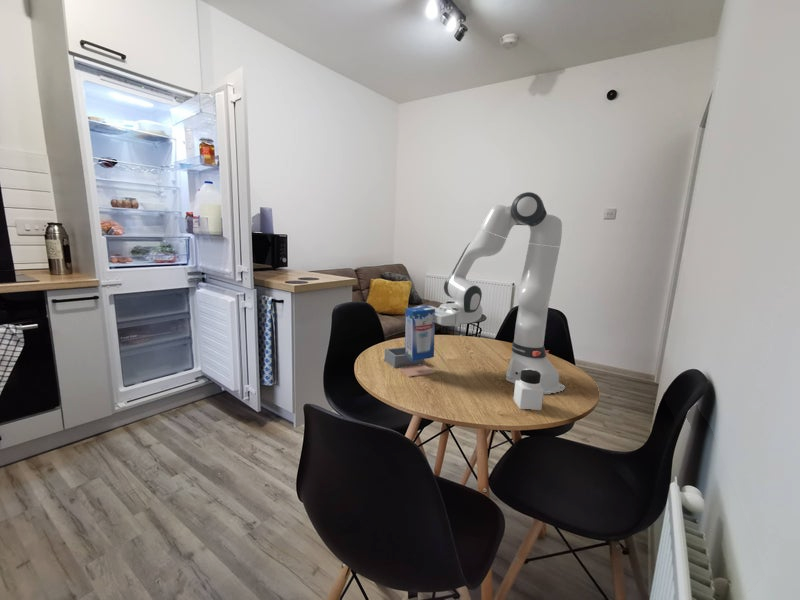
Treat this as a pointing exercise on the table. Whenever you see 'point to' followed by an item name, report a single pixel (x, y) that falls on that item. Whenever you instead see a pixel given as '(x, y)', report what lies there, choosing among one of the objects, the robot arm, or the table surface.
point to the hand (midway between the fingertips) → (418, 315)
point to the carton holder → (399, 358)
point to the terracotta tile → (416, 370)
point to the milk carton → (419, 333)
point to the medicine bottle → (529, 390)
